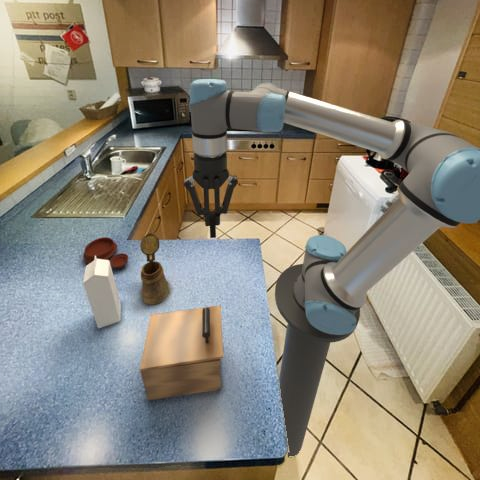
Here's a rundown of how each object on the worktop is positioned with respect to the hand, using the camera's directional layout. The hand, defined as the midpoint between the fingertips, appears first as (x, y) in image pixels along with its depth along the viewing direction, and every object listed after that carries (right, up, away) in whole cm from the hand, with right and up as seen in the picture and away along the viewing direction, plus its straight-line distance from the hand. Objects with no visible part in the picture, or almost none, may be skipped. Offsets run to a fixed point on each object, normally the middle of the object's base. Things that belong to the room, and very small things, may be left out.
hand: (212, 234), depth 66 cm
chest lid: (-6, -22, -6) cm, 24 cm away
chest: (-7, -34, -1) cm, 34 cm away
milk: (-32, -28, +10) cm, 44 cm away
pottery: (-44, -19, +31) cm, 57 cm away
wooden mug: (-22, -24, +20) cm, 38 cm away
